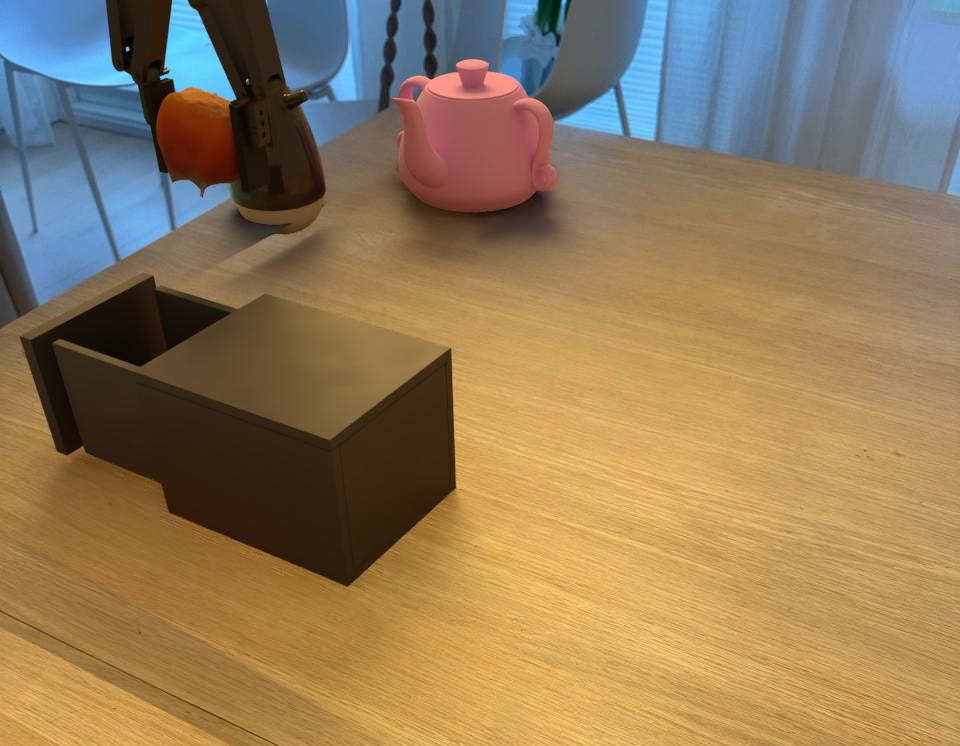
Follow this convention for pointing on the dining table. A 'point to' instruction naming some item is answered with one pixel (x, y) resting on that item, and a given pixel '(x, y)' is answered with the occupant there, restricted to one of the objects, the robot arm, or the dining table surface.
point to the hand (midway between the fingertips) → (214, 176)
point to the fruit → (197, 138)
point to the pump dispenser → (286, 169)
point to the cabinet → (302, 433)
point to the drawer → (110, 366)
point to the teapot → (473, 140)
